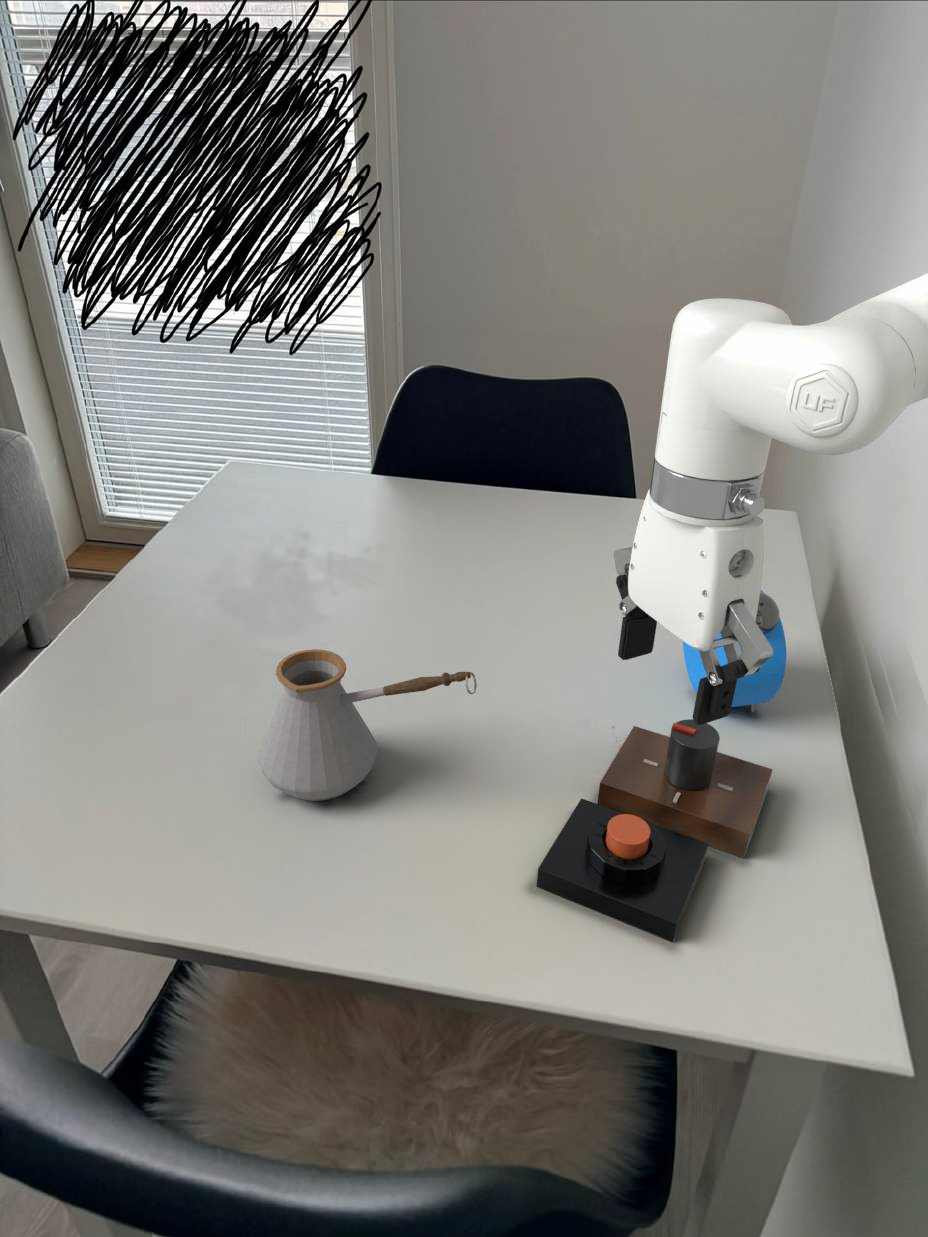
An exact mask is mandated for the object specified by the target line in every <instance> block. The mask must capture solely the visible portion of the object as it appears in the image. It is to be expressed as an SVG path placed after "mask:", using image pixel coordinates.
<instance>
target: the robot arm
mask: <svg viewBox="0 0 928 1237" xmlns="http://www.w3.org/2000/svg"><path fill="white" fill-rule="evenodd" d="M667 355H668V356H667V362H666V371H665V378H664V386H663V393H662V399H661V406H660V414H659V422H658V428H657V436H656V442H655V448H654V450H655V451H654V459H653V466H652V473H651V480H650V487H649V489H648V491H647V493H646V496H645V499H644V501H643V504H642V508H641V511H640V514H639V518H638V522H637V526H636V530H635V534H634V538H633V542H632V546H631V547H625V548H619V549H616V550H614V552H613V560H614V566H615V569H616V574H618V575H617V576H616V578H615V585H616V587H617V589H618V592H619V595H620V597H621V600H620V602H619V603H618V609H619V611H620V613H621V615H622V616H623V617H622V621H621V629H620V637H619V644H618V650H617V651H618V652H617V656H618V657H619V658H620V659H621V660H622V661H628V660H631V659H635V658H638V657H641V656H645V655H649V654H652V652H653V650H654V645H655V638H656V632H657V625H658V624H660V625H661V626H662V627H663V628H665V629H666V630H668V631H669V632H670V633H671V634H672V635H674V636H676V637H677V638H678V639H680V640H681V641H682V642H683V641H684V642H685V643H687V644H688V645H690V646H691V647H693V648H695V649H697V650H699V653H700V656H701V659H702V663H703V666H704V669H705V672H706V675H707V677H704V678H702V679H700V681H699V686H698V691H697V693H696V697H695V702H694V708H693V713H692V720H693V721H694V722H695V723H697V724H698V725H702V724H705V723H707V724H709V723H711V722H714V721H717V720H720V719H723V718H725V717H726V718H727V717H728V716H729V715H730V714H731V711H732V707H731V706H732V702H733V697H734V692H735V688H736V683H737V679H739V678H743V677H745V676H748V675H751V674H753V673H756V672H758V671H759V669H760V667H761V666H762V665H763V664H764V663H765V662H766V661H767V660H768V659H769V658H770V657H771V656H772V655H773V648H772V646H771V645H770V643H769V642H768V640H767V639H766V637H765V636H764V634H763V633H762V631H761V630H760V628H759V627H758V625H757V624H756V622H755V620H756V615H757V609H758V603H759V596H760V590H761V588H762V581H763V571H764V558H765V530H764V528H765V527H764V519H763V517H761V516H759V515H760V514H762V513H763V511H764V509H765V508H766V500H765V498H763V497H761V490H762V487H763V486H762V485H763V483H764V482H763V481H764V478H765V477H764V476H765V471H766V467H767V463H768V458H769V453H770V448H771V443H772V439H773V440H776V441H778V442H781V443H783V444H785V445H788V446H791V447H793V448H797V449H798V450H801V451H804V452H809V453H812V454H815V455H816V454H817V455H825V456H836V455H846V454H850V453H853V452H856V451H859V450H861V449H863V448H866V447H868V446H869V445H870V444H872V443H873V442H875V441H876V440H877V439H879V438H880V437H881V436H882V435H883V434H884V433H885V432H886V431H887V430H888V429H889V428H890V427H891V425H892V424H894V422H895V421H896V420H897V419H898V418H899V417H900V416H901V414H902V413H903V412H904V411H905V410H906V409H907V408H908V407H909V406H911V405H913V404H915V403H919V402H920V401H923V400H925V399H928V272H927V273H925V274H922V275H920V276H918V277H916V278H914V279H912V280H909V281H907V282H905V283H903V284H900V285H897V286H896V287H894V288H891V289H890V290H886V291H885V292H882V293H880V294H878V295H875V296H873V297H871V298H869V299H866V300H865V301H862V302H860V303H858V304H855V305H853V306H852V307H850V308H848V309H845V310H843V311H842V312H840V313H838V314H835V315H834V316H832V317H831V318H829V319H828V320H825V321H821V322H817V323H812V324H808V325H807V324H806V325H797V324H792V321H791V319H790V316H789V315H788V314H787V313H786V312H785V311H784V310H783V309H781V308H779V307H777V306H775V305H773V304H770V303H766V302H762V301H756V300H752V299H742V298H724V297H723V298H717V297H715V298H705V299H699V300H695V301H692V302H689V303H688V304H687V305H685V306H684V307H682V308H681V309H680V310H679V311H678V313H677V314H676V316H675V319H674V321H673V323H672V328H671V334H670V341H669V347H668V354H667ZM720 633H721V636H722V638H720V639H717V637H718V636H719V634H720ZM713 639H716V640H713ZM739 643H740V645H741V647H742V652H741V648H740V645H739ZM722 646H723V648H724V651H725V654H726V658H727V661H728V664H726V665H723V666H721V667H720V663H719V660H718V657H717V654H716V651H715V648H718V647H722Z"/></svg>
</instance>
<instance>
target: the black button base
mask: <svg viewBox="0 0 928 1237" xmlns="http://www.w3.org/2000/svg"><path fill="white" fill-rule="evenodd" d="M621 814H624V813H621V812H619V811H616V810H613V809H610V808H607V807H605V806H602V805H599V804H597V802H596V803H595V802H593V801H590V800H587V799H584V798H583V797H582V798H580V800H579V802H578V803H577V804H576V806H575V808H574V809H573V810H572V812H571V813H570V816H569V817H568V818H567V820H566V822H565V824H564V826H563V827H562V829H561V830H560V832H559V834H558V835H557V837H556V839H555V840H554V842H553V843H552V845H551V847H550V848H549V850H548V851H547V853H546V855H545V856H544V858H543V860H542V862H541V863H540V865H539V866H538V868H537V875H536V888H539V889H541V890H542V891H543V890H544V891H546V892H548V893H551V894H553V895H555V896H558V897H561V898H563V899H565V900H567V901H571V902H573V903H575V904H577V905H580V906H583V907H584V908H587V909H590V910H592V911H594V912H597V913H599V914H602V915H604V916H608V917H610V918H612V919H614V920H617V921H620V922H622V923H624V924H627V925H628V926H629V925H630V926H632V927H634V928H636V929H639V930H640V931H641V930H642V931H644V932H645V933H649V934H651V935H654V936H656V937H657V938H661V939H663V940H666V941H667V942H671V943H673V942H674V940H675V939H676V938H675V937H676V935H677V933H678V930H679V927H680V925H681V923H682V920H683V918H684V915H685V912H686V910H687V908H688V905H689V902H690V900H691V897H692V894H693V892H694V889H695V887H696V884H697V882H698V880H699V877H700V875H701V873H702V870H703V867H704V865H705V862H706V858H707V854H708V849H709V846H708V845H709V844H708V843H705V842H703V841H700V840H697V839H694V838H691V837H689V836H686V835H683V834H680V833H677V832H675V831H672V830H669V829H666V828H663V827H661V826H658V825H655V824H652V823H651V822H650V821H648V820H645V819H643V818H641V819H643V820H644V821H645V822H646V823H647V824H648V826H649V828H650V831H651V833H650V839H649V845H648V850H647V852H646V853H645V855H643V856H642V857H640V858H637V859H624V858H622V857H619V856H616V855H614V854H613V853H612V852H610V850H609V849H608V848H607V846H606V834H607V826H608V823H609V821H610V820H611V819H612V818H613V817H615V816H617V815H621ZM630 815H631V814H630ZM639 818H640V817H639Z"/></svg>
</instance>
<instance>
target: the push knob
mask: <svg viewBox="0 0 928 1237" xmlns="http://www.w3.org/2000/svg"><path fill="white" fill-rule="evenodd" d="M650 833H651V831H650V828H649V826H648V824H647V823H646V822H645V821H644V820H643V819H641V818H639V817H637V816H634V815H630V814H621V815H617V816H615V817H613V818H612V819H611V820H610V821H609V823H608V826H607V834H606V846H607V848H608V849H609V850H610V852H612V853H613V854H614V855H616V856H619V857H622V858H624V859H637V858H640V857H642V856H643V855H645V853H646V852H647V850H648V845H649V839H650Z"/></svg>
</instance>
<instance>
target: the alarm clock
mask: <svg viewBox="0 0 928 1237" xmlns="http://www.w3.org/2000/svg"><path fill="white" fill-rule="evenodd" d="M755 622H756V624H757V625H758V627H759V628H760V630H761V631H762V633H763V634H764V636H765V637H766V639H767V640H768V642H769V643H770V645H771V646H772V648H773V655H772V656H771V657H770V658H769V659H768V660H767V661H766V662H765V663H764V664H763V665H762V666H761V667H760V669H759V671H758V672H756V673H753V674H751V675H748V676H745V677H743V678H739V679H737V683H736V688H735V692H734V697H733V702H732V706H731V708H736V707H744V706H746V707H747V706H749V711H750V712H751V713H754V711H755V705H762V704H766V703H768V702H770V701H771V700H772V699H773V698H774V697H775V696H776V695H777V694H778V692H779V691H780V689H781V686H782V683H783V681H784V677H785V673H786V666H787V642H786V635H785V630H784V626H783V622H782V620H781V617H780V610H779V606H778V605H777V603H776V601H775V600H774V598H773V597H771V596H770V595H768V594H767V593H765V591H763V590H761V589H760V596H759V603H758V609H757V615H756V620H755ZM720 638H722V636H721V633H720V634H719V636H718V637H717V639H720ZM713 640H716V639H713ZM739 645H740V643H739ZM740 648H741V652H742V647H741V645H740ZM682 649H683V658H684V664H685V668H686V672H687V675H688V678H689V680H690V681H689V682H690V684H691V685H692V687H693V689H694V691H695V693H696V694H697V691H698V686H699V681H700V679H702V678H704V677H707V675H706V672H705V669H704V666H703V663H702V659H701V656H700V653H699V650H697V649H695V648H693V647H691V646H690V645H688V644H687V643H685V642H684V641H683V640H682ZM715 651H716V654H717V657H718V660H719V663H720V667H721V666H723V665H726V664H728V661H727V658H726V654H725V651H724V648H723V646H722V647H718V648H715Z"/></svg>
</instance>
